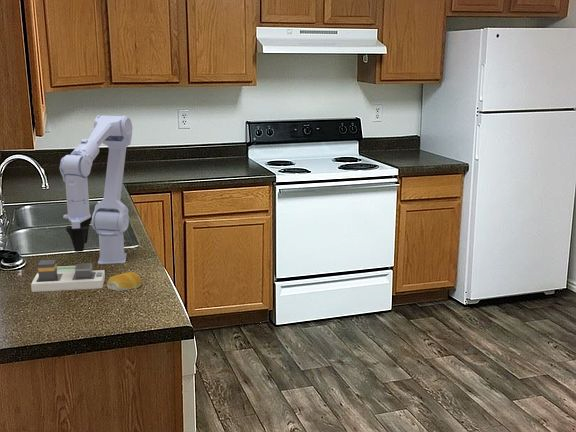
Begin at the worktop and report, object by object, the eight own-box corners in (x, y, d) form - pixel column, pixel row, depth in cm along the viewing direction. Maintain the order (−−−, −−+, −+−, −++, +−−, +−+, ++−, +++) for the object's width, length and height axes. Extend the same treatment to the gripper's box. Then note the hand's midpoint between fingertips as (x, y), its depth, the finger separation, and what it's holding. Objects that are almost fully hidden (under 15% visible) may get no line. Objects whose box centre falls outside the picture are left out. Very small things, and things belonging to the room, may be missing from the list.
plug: (42, 284, 180) (40, 260, 178) (58, 283, 181) (56, 259, 179) (39, 289, 176) (37, 264, 174) (55, 289, 177) (53, 264, 175)
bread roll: (147, 285, 181) (147, 271, 180) (122, 294, 173) (121, 280, 173) (127, 279, 185) (126, 266, 184) (101, 288, 178) (100, 274, 177)
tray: (52, 269, 192) (52, 266, 192) (84, 268, 194) (84, 265, 193) (47, 280, 183) (47, 276, 183) (81, 278, 185) (81, 275, 185)
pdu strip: (37, 281, 182) (36, 262, 181) (104, 278, 185) (103, 259, 184) (31, 293, 173) (30, 273, 172) (102, 289, 177) (101, 270, 175)
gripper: (66, 193, 184) (69, 240, 188) (58, 205, 170) (62, 255, 174) (92, 193, 185) (95, 239, 189) (86, 204, 172) (89, 254, 175)
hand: (81, 247), depth 181 cm, fingers open, 7 cm apart
